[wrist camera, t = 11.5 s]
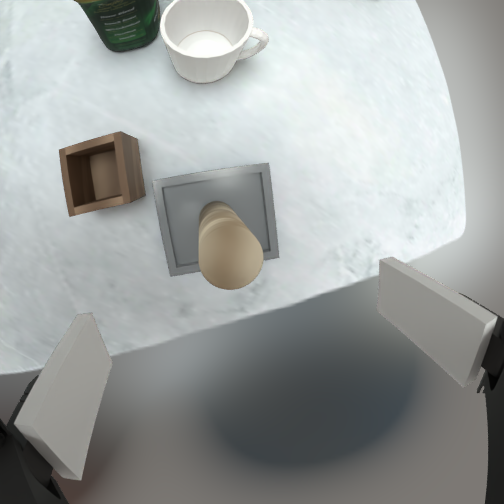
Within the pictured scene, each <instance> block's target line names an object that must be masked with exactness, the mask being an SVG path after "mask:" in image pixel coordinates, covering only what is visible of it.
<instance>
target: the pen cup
mask: <svg viewBox="0 0 504 504" xmlns="http://www.w3.org/2000/svg"><path fill="white" fill-rule="evenodd" d="M59 155H60V164H61V172H62V179H63V185H64V191H65V197H66V203H67V208H68V213H69V217H71V216H75V215H79V214H83V213H87V212H91V211H95V210H99V209H104V208H108V207H113V206H117V205H122V204H126V203H131V202H133V201H135V200H137V199H139V198H141V197H143V196H145V195H146V194H145V188H144V182H143V175H142V169H141V162H140V154H139V147H138V139H136V138H134V137H132V136H130V135H128V134H125V133H123V132H121V131H120V132H116V133H113V134H109V135H105V136H102V137H98V138H95V139H91V140H88V141H84V142H81V143H78V144H75V145H72V146H69V147H66V148H63V149H60V150H59Z"/></svg>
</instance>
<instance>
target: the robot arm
mask: <svg viewBox="0 0 504 504" xmlns="http://www.w3.org/2000/svg"><path fill="white" fill-rule="evenodd" d="M377 311H378V312H379V313H380V314H381V315H383V316H384V317H385V318H386V319H387V320H388V321H389V322H391V323H392V324H393V325H394V326H395V327H396V328H398V329H399V330H400V331H401V332H402V333H404V334H405V335H406V336H407V337H408V338H409V339H410V340H412V342H414V343H415V344H416V345H417V346H418V347H419V348H420V349H422V350H423V351H424V352H425V353H426V354H427V355H428V356H429V357H431V358H432V359H433V360H434V361H435V362H436V363H437V364H438V365H439V366H441V367H442V368H443V369H444V370H445V371H446V372H447V373H448V374H449V375H450V376H451V377H453V378H454V379H455V380H456V381H457V382H458V383H459V384H460V385H461V386H462V387H465V386H466V385H468V384H470V383H471V382H472V381H474V380H475V379H476V377H477V375H478V372H479V370H480V368H481V367H483V368H484V369H485V373H484V375H483V378H482V380H481V382H480V385H479V387H478V389H477V393H479V392H480V390H481V388H482V386H484V390H483V393H485V397H486V407H487V420H488V475H487V489H486V499H485V504H504V319H503V318H502V317H500V316H498V315H497V314H495V313H493V312H492V311H490V310H489V309H487V308H485V307H484V306H482V305H479V304H478V303H477V302H475V301H472V299H470V298H469V297H467V296H465V295H463V294H460V293H457V292H456V291H454V290H452V289H450V288H449V287H447V286H445V285H443V284H441V283H440V282H438V281H436V280H435V279H432V278H431V277H429V276H427V275H425V274H424V273H422V272H420V271H418V270H416V269H414V268H412V267H411V266H409V265H407V264H405V263H403V262H401V261H399V260H397V259H396V258H394V257H388V258H384V259H380V261H379V285H378V300H377ZM112 364H113V363H112V361H111V358H110V356H109V354H108V351H107V349H106V347H105V344H104V342H103V340H102V337H101V335H100V332H99V330H98V327H97V324H96V322H95V319H94V317H93V314H92V313H86V314H78V315H77V316H76V318H75V319H74V321H73V322H72V324H71V325H70V327H69V328H68V330H67V331H66V333H65V334H64V336H63V337H62V339H61V341H60V342H59V344H58V345H57V347H56V348H55V350H54V352H53V353H52V355H51V357H50V358H49V360H48V362H47V363H46V365H45V367H44V368H43V370H42V372H41V374H40V375H38V376H36V377H35V378H34V379H33V380H32V381H31V382H30V383H29V385H28V387H27V388H26V390H25V392H24V395H23V396H22V397H21V399H20V402H19V403H18V405H17V406H16V408H15V410H14V412H13V414H12V416H11V418H10V420H9V422H8V424H7V426H6V425H5V424H4V423H3V422H2V420H1V419H0V504H69V503H68V501H67V499H66V498H65V496H64V494H63V492H62V491H61V489H60V487H59V485H58V483H57V482H56V480H55V479H54V478H53V477H52V476H51V474H52V470H53V469H54V470H56V471H57V472H58V473H59V474H60V475H61V476H62V477H63V478H69V479H75V480H81V477H82V473H83V468H84V464H85V459H86V454H87V451H88V447H89V442H90V438H91V435H92V431H93V427H94V423H95V419H96V416H97V412H98V409H99V405H100V402H101V399H102V395H103V392H104V389H105V385H106V382H107V379H108V376H109V373H110V370H111V367H112Z"/></svg>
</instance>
